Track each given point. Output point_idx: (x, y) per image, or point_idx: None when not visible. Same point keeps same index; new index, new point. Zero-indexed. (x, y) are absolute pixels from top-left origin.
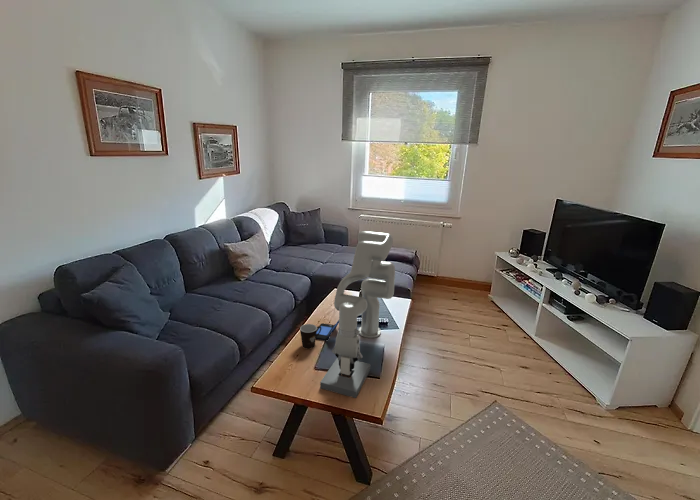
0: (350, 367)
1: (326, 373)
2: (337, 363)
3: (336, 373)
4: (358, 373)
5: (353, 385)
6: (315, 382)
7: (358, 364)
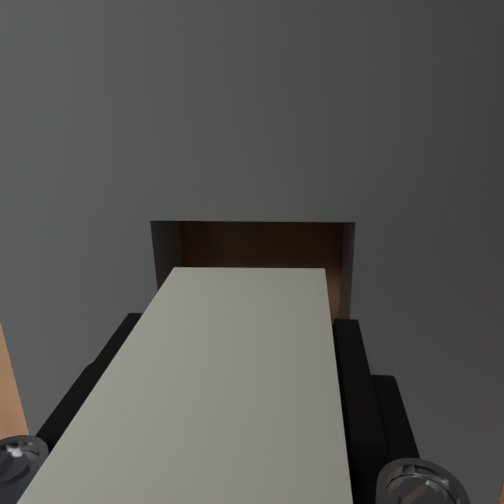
0: None
1: (24, 403)
2: (20, 152)
3: None
4: (438, 268)
5: None
6: (3, 420)
7: (376, 13)
